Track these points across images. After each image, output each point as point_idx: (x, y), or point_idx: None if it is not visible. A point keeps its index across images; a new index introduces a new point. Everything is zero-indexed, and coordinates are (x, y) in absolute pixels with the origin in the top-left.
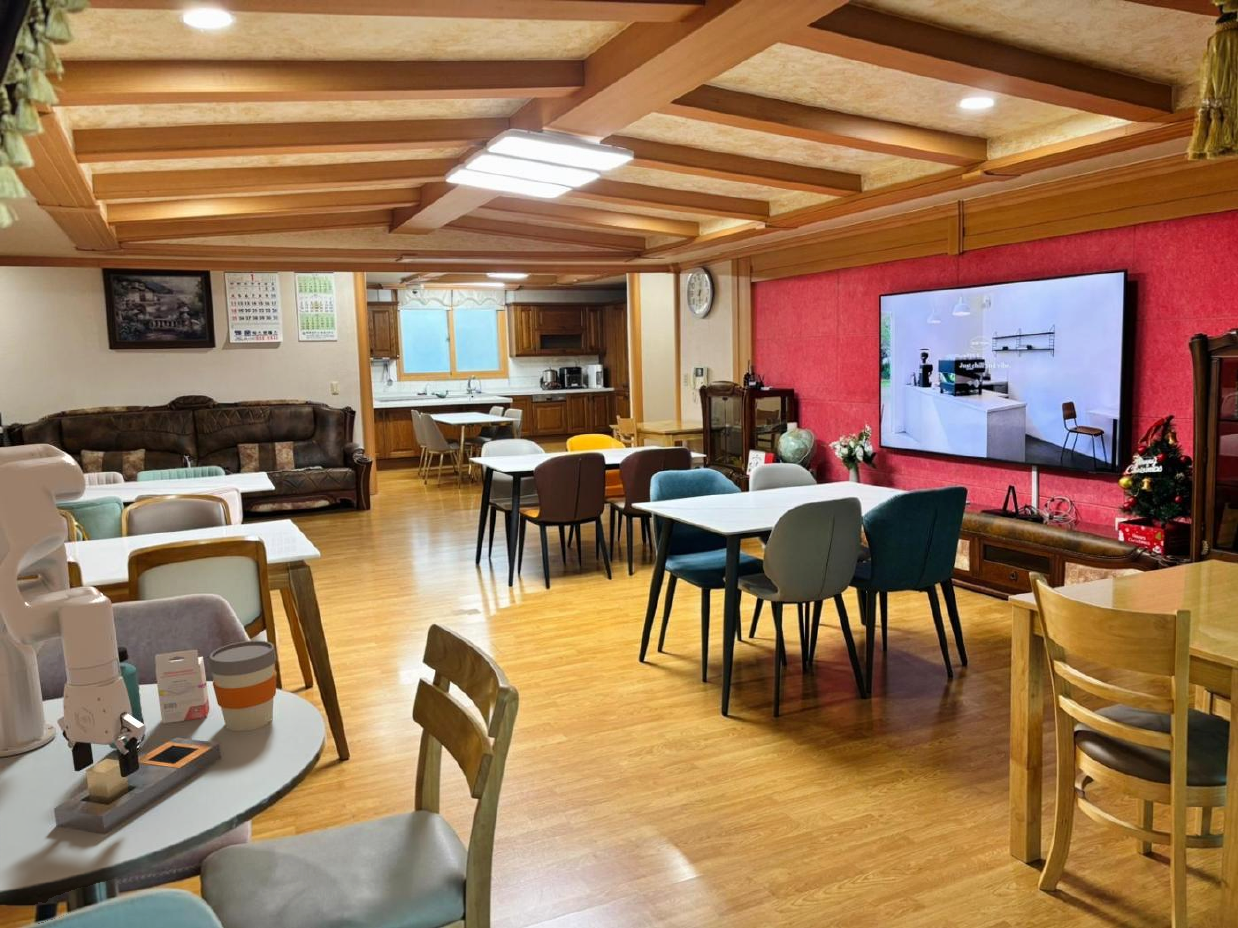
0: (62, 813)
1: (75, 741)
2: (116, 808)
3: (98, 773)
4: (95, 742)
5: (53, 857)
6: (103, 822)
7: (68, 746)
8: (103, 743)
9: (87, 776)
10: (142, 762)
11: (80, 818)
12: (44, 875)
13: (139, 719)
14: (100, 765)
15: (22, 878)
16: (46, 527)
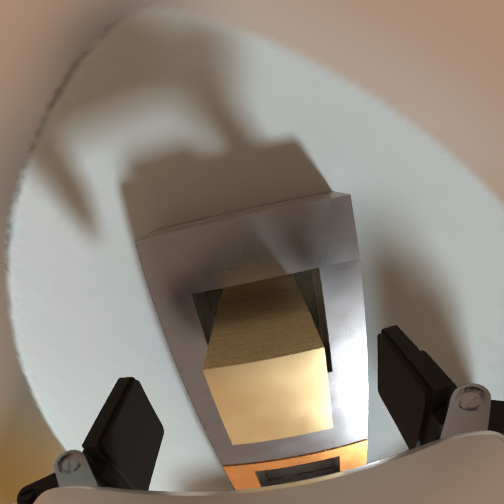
0: (312, 200)
1: (445, 434)
2: (151, 293)
3: (244, 358)
4: (156, 499)
5: (165, 96)
6: (143, 237)
7: (478, 384)
8: (84, 489)
9: (312, 331)
10: (341, 448)
11: (232, 215)
12: (112, 56)
13: None
14: (298, 395)
15: (148, 24)
16: None
